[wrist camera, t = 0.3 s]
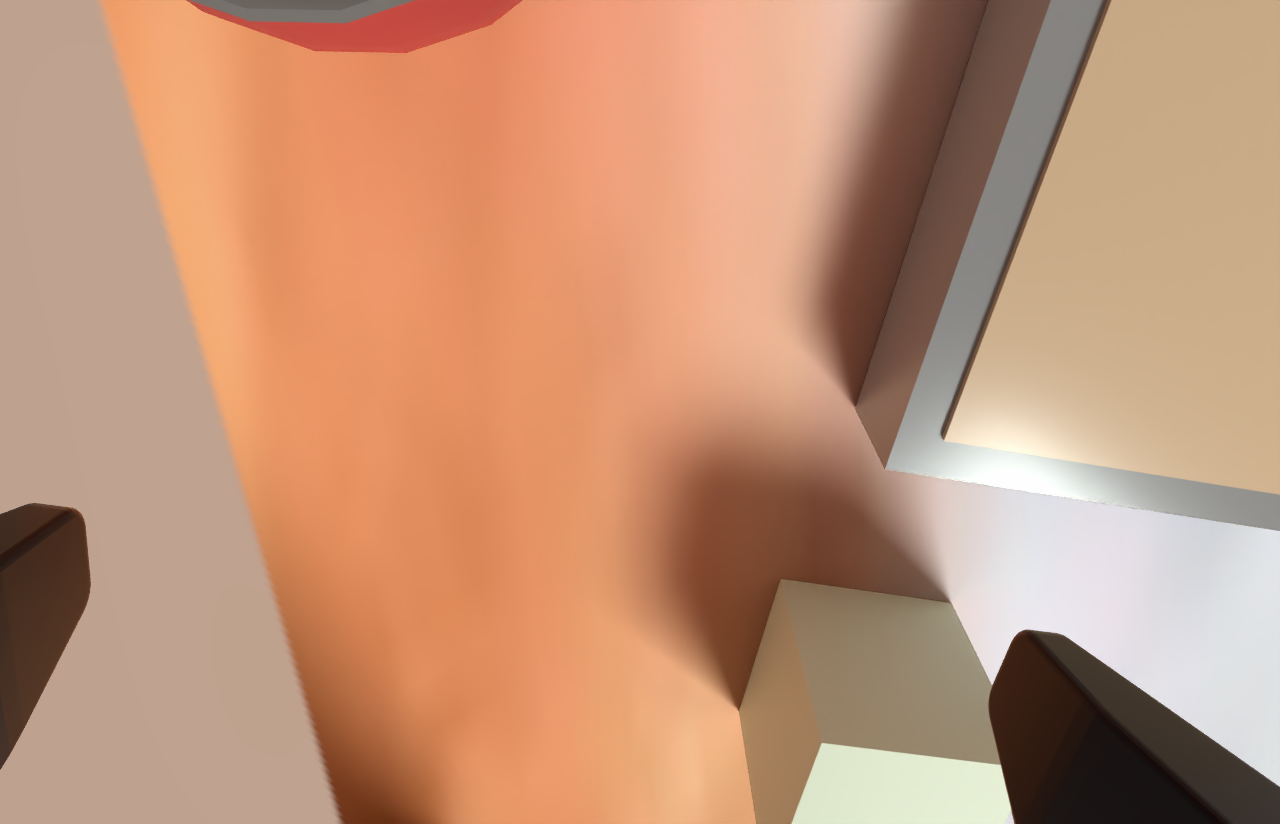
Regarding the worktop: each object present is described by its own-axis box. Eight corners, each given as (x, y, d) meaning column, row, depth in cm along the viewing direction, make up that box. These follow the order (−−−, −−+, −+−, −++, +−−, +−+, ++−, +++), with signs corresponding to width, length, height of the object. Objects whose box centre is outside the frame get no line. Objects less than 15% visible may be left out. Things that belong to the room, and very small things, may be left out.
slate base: (1288, 478, 25) (1371, 547, 22) (854, 408, 24) (886, 473, 21) (1568, -6, 20) (1724, 6, 17) (1030, -129, 19) (1102, -138, 16)
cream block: (896, 729, 29) (959, 909, 24) (738, 709, 29) (766, 889, 23) (950, 601, 27) (1032, 769, 22) (780, 578, 27) (821, 742, 21)
